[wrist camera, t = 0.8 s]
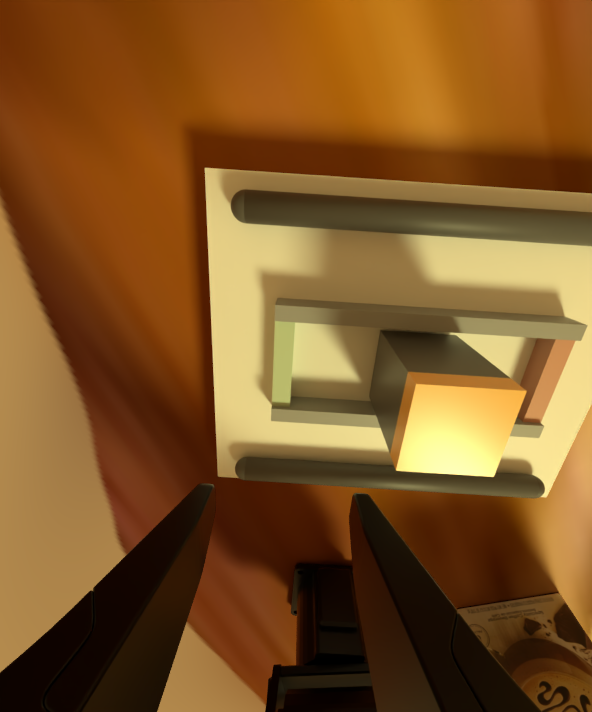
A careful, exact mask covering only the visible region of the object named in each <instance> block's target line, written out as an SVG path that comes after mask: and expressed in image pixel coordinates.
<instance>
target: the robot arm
mask: <svg viewBox="0 0 592 712" xmlns="http://www.w3.org/2000/svg"><path fill="white" fill-rule="evenodd" d="M215 511H216V499H215V486H214V485H213V484H202V483H201V484H199V485H197V486H196V487H195V488H194V489H193V490H192V491H191V492H190V493H189V494H188V495H187V496H186V497H185V498H184V499H183V500H182V501H181V502H180V503H179V504H178V505H177V506H176V507H175V508H174V509H173V510H172V511H171V512H170V513H169V514H168V515H167V516H166V517H165V518H164V519H163V520H162V521H161V522H160V523H159V524H158V525H157V526H156V527H155V528H154V529H153V530H152V531H151V532H150V533H149V534H148V535H147V536H146V537H145V538H143V539H142V540H141V541H140V542H139V543H138V544H137V545H136V546H135V547H134V548H133V549H132V550H131V551H130V552H129V553H128V554H127V555H126V556H125V557H124V558H123V559H122V560H121V561H120V562H119V563H118V564H117V565H116V566H115V567H114V568H113V569H112V570H111V571H110V572H109V573H108V574H107V575H106V576H105V577H104V578H103V579H102V580H101V581H100V582H99V583H98V584H97V585H96V586H95V587H94V588H93V591H89V592H88V593H87V594H86V595H85V596H84V598H82V599H81V600H80V601H79V602H78V603H77V604H76V605H75V606H74V607H73V608H72V609H71V610H70V611H69V612H68V613H67V614H66V615H65V616H64V617H63V618H61V620H59V621H58V622H57V623H56V624H55V625H54V626H53V627H52V628H51V629H50V630H49V631H48V632H46V633H45V634H44V635H43V636H42V637H41V638H40V639H38V640H37V641H36V642H35V643H34V644H33V645H32V646H31V647H29V648H28V649H27V650H26V651H25V652H24V653H23V654H21V655H20V656H19V657H18V658H17V659H16V660H14V661H13V662H12V663H11V664H10V665H9V666H7V667H6V668H5V669H4V670H3V671H1V672H0V712H157V710H158V707H159V704H160V701H161V698H162V695H163V692H164V688H165V686H166V682H167V680H168V677H169V673H170V670H171V667H172V664H173V661H174V658H175V655H176V652H177V649H178V646H179V643H180V640H181V637H182V634H183V631H184V627H185V625H186V622H187V618H188V615H189V612H190V609H191V606H192V603H193V600H194V597H195V594H196V591H197V588H198V585H199V582H200V578H201V575H202V571H203V567H204V563H205V559H206V554H207V549H208V545H209V540H210V535H211V531H212V526H213V521H214V517H215ZM349 526H350V539H351V553H352V566H353V567H344V566H328V565H311V564H297V565H296V566H295V570H294V581H293V592H292V604H291V614H292V615H295V616H297V642H296V665H294V666H281V664H279V665H274V666H273V673H272V677H271V678H269V679H268V692H267V704H266V711H265V712H542V711H541V710H540V709H539V708H538V707H537V705H536V704H535V703H534V702H533V701H532V700H531V699H530V698H529V696H528V695H527V694H526V693H525V692H524V691H523V690H522V689H521V687H520V686H519V685H518V684H517V683H516V682H515V681H514V679H513V678H512V677H511V676H510V675H509V674H508V672H507V671H506V670H505V669H504V668H503V667H502V665H501V664H500V663H499V662H498V661H497V660H496V658H495V657H494V656H493V655H492V654H491V652H490V651H489V650H488V649H487V647H486V646H485V645H484V644H483V642H482V641H481V640H480V639H479V637H478V636H477V635H476V634H475V632H474V631H473V630H472V628H471V627H470V626H469V625H468V623H467V622H466V621H465V619H464V618H463V617H462V615H461V614H460V613H457V609H456V608H455V606H454V605H453V604H452V603H451V601H450V600H449V599H448V597H447V596H446V595H445V593H444V592H443V591H442V589H441V588H440V587H439V586H438V584H437V583H436V582H435V580H434V579H433V578H432V576H431V575H430V574H429V573H428V571H427V570H426V569H425V567H424V566H423V565H422V563H421V562H420V561H419V559H418V558H417V557H416V556H415V554H414V553H413V552H412V550H411V549H410V548H409V546H408V545H407V544H406V542H405V541H404V540H403V539H402V537H401V536H400V535H399V533H398V532H397V531H396V529H395V528H394V527H393V526H392V524H391V523H390V522H389V520H388V519H387V518H386V516H385V515H384V514H383V512H382V511H381V510H380V509H379V507H378V506H377V505H376V503H375V502H374V501H373V499H372V498H371V497H370V496H369V495H368V494H362V493H355V494H354V495H353V497H352V503H351V509H350V515H349Z"/></svg>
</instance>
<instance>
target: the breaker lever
mask: <svg viewBox="0 0 592 712" xmlns="http://www.w3.org/2000/svg"><path fill="white" fill-rule="evenodd" d="M526 392H527V391H526V390H525V389H524V388H522V387H521V386H520V385H519V384H517V383H516V382H515V381H514V380H512V379H511V378H510V377H509V376H507V375H506V374H505V373H503V372H502V371H501V370H500V369H498V368H497V367H496V366H495V365H493V364H492V363H491V362H489V361H488V360H487V359H486V358H484V357H483V356H482V355H481V354H479V353H478V352H477V351H475V350H474V349H473V348H472V347H470V346H469V345H468V344H467V343H465V342H464V341H463V340H462V339H460V338H459V337H458V336H456V335H447V334H431V333H416V332H401V331H385V330H380V335H379V341H378V347H377V352H376V358H375V364H374V370H373V376H372V382H371V388H370V393H369V397H370V400H371V403H372V406H373V409H374V411H375V414H376V417H377V420H378V422H379V425H380V428H381V431H382V433H383V436H384V439H385V442H386V445H387V447H388V450H389V453H390V456H391V458H392V461H393V464H394V467H395V469H396V471H408V472H424V473H440V474H456V475H471V476H487V477H494V475H495V473H496V470H497V467H498V465H499V462H500V460H501V457H502V454H503V452H504V449H505V447H506V444H507V441H508V439H509V436H510V434H511V431H512V428H513V426H514V423H515V421H516V418H517V415H518V413H519V410H520V408H521V405H522V403H523V400H524V397H525V395H526Z"/></svg>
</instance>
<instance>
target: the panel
mask: <svg viewBox="0 0 592 712" xmlns="http://www.w3.org/2000/svg"><path fill="white" fill-rule="evenodd" d="M205 187H206V211H207V234H208V257H209V281H210V304H211V328H212V351H213V374H214V398H215V421H216V445H217V468H218V477H232V478H240V479H242V480H250V481H266V482H282V483H297V484H313V485H329V486H345V487H361V488H377V489H393V490H409V491H425V492H441V493H457V494H473V495H489V496H505V497H521V498H539V497H547V495H548V493H549V491H550V489H551V487H552V485H553V483H554V481H555V479H556V477H557V474H558V472H559V470H560V468H561V466H562V464H563V462H564V460H565V458H566V456H567V454H568V452H569V450H570V448H571V445H572V443H573V441H574V439H575V437H576V435H577V433H578V431H579V429H580V427H581V425H582V423H583V421H584V419H585V416H586V414H587V412H588V410H589V408H590V406H591V404H592V193H577V192H562V191H547V190H532V189H517V188H502V187H487V186H472V185H457V184H442V183H427V182H412V181H397V180H382V179H367V178H352V177H337V176H322V175H307V174H292V173H277V172H262V171H247V170H232V169H217V168H205ZM380 330H385V331H401V332H416V333H431V334H447V335H456V336H458V337H459V338H460V339H462V340H463V341H464V342H465V343H467V344H468V345H469V346H470V347H472V348H473V349H474V350H475V351H477V352H478V353H479V354H481V355H482V356H483V357H484V358H486V359H487V360H488V361H489V362H491V363H492V364H493V365H495V366H496V367H497V368H498V369H500V370H501V371H502V372H503V373H505V374H506V375H507V376H509V377H510V378H511V379H512V380H514V381H515V382H516V383H517V384H519V385H520V386H521V387H522V388H524V389H525V390H526V391H527V392H526V395H525V397H524V400H523V403H522V405H521V408H520V410H519V413H518V415H517V418H516V421H515V423H514V426H513V428H512V431H511V434H510V436H509V439H508V441H507V444H506V447H505V449H504V452H503V454H502V457H501V460H500V462H499V465H498V467H497V470H496V473H495V475H494V477H487V476H471V475H456V474H440V473H424V472H408V471H396V469H395V467H394V464H393V461H392V458H391V456H390V453H389V450H388V447H387V445H386V442H385V439H384V436H383V433H382V431H381V428H380V425H379V422H378V420H377V417H376V414H375V411H374V409H373V406H372V403H371V400H370V397H369V393H370V388H371V382H372V376H373V370H374V364H375V358H376V352H377V347H378V341H379V335H380Z"/></svg>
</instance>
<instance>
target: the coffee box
mask: <svg viewBox="0 0 592 712" xmlns="http://www.w3.org/2000/svg"><path fill="white" fill-rule="evenodd" d="M457 613H460V614H461V615H462V617H463V618H464V619H465V621H466V622H467V623H468V625H469V626H470V627H471V628H472V630H473V631H474V632H475V634H476V635H477V636H478V637H479V639H480V640H481V641H482V642H483V644H484V645H485V646H486V647H487V649H488V650H489V651H490V652H491V654H492V655H493V656H494V657H495V658H496V660H497V661H498V662H499V663H500V664H501V665H502V667H503V668H504V669H505V670H506V671H507V672H508V674H509V675H510V676H511V677H512V678H513V679H514V681H515V682H516V683H517V684H518V685H519V686H520V687H521V689H522V690H523V691H524V692H525V693H526V694H527V695H528V696H529V698H530V699H531V700H532V701H533V702H534V703H535V704H536V705H537V707H538V708H539V709H540V710H541V711H542V712H592V642H591V640H590V639H589V637H588V636H587V634H586V633H585V631H584V630H583V628H582V627H581V625H580V624H579V622H578V621H577V619H576V617H575V616H574V614H573V613H572V612H571V610H570V608H569V607H568V605H567V604H566V602H565V601H564V599H563V598H562V596H561V595H560V594H558V593H555V594H549V595H543V596H537V597H530V598H524V599H518V600H511V601H505V602H499V603H493V604H486V605H480V606H474V607H468V608H461V609H457Z"/></svg>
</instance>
